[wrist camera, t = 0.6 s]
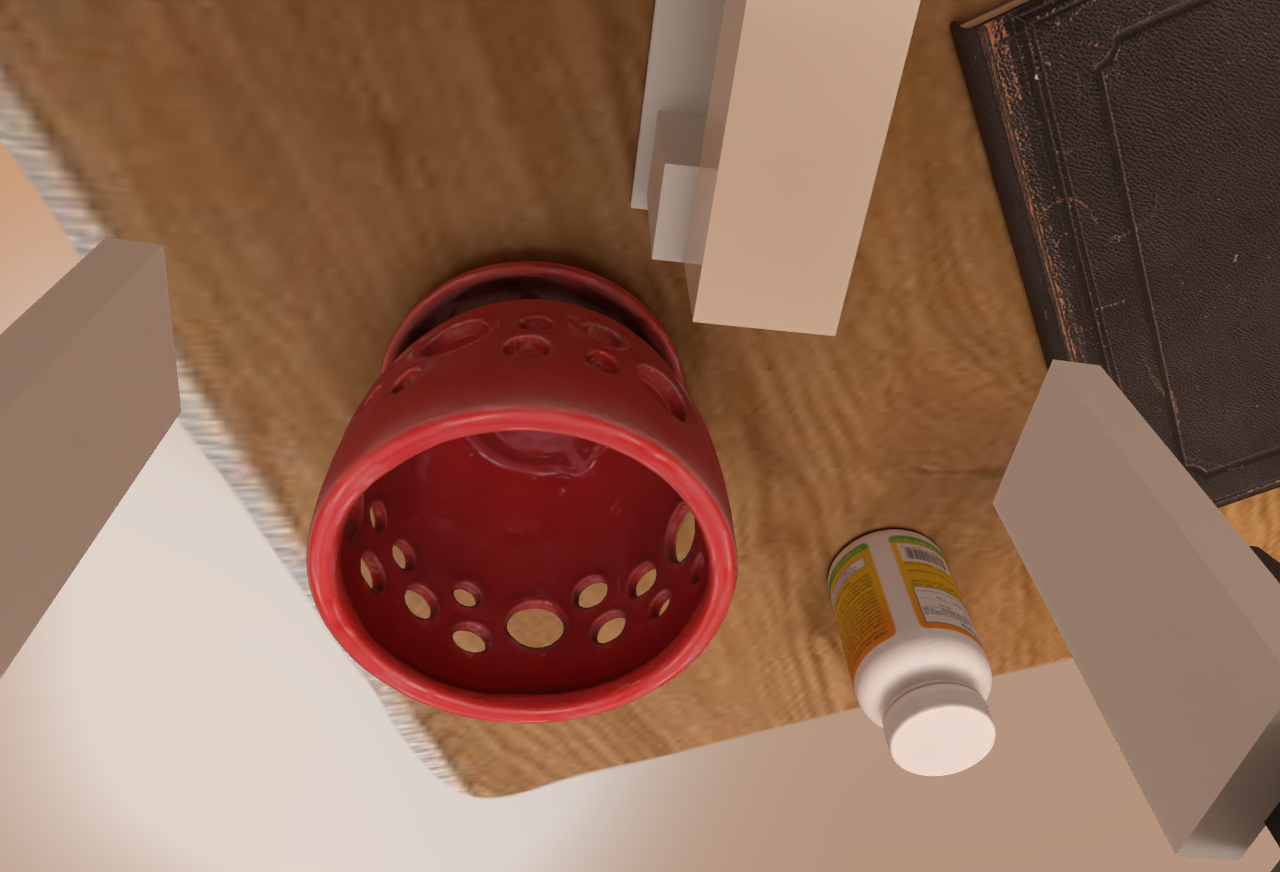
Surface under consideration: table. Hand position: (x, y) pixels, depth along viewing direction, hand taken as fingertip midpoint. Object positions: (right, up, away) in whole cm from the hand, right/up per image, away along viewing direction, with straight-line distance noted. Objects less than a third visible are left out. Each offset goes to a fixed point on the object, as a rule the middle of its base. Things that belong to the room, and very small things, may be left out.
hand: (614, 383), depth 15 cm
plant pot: (-3, +1, +25) cm, 26 cm away
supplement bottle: (+11, -7, +31) cm, 34 cm away
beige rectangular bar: (+5, +11, +12) cm, 17 cm away
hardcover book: (+23, +7, +23) cm, 33 cm away
